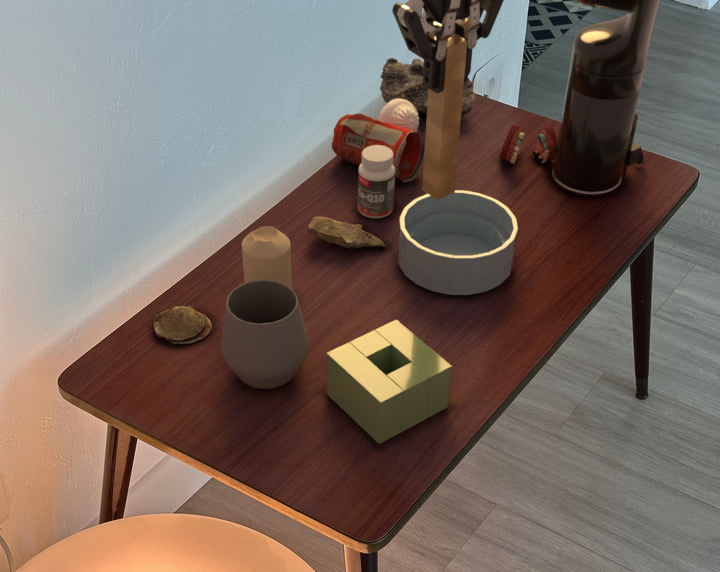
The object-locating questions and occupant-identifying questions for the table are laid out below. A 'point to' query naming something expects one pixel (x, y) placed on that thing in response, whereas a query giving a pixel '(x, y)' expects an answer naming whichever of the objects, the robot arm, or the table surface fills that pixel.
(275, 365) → the cup
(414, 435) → the table surface
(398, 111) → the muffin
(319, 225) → the artifact
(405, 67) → the rock
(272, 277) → the candle
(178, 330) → the decorative disc
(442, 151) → the stick
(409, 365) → the stand
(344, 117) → the beverage can
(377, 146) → the pill bottle
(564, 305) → the table surface
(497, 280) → the bowl
